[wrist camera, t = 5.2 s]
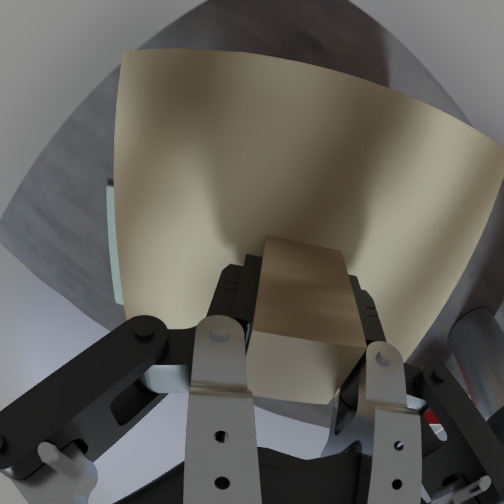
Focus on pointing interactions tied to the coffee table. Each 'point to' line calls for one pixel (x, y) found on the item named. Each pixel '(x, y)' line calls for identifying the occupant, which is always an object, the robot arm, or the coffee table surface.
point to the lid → (292, 205)
